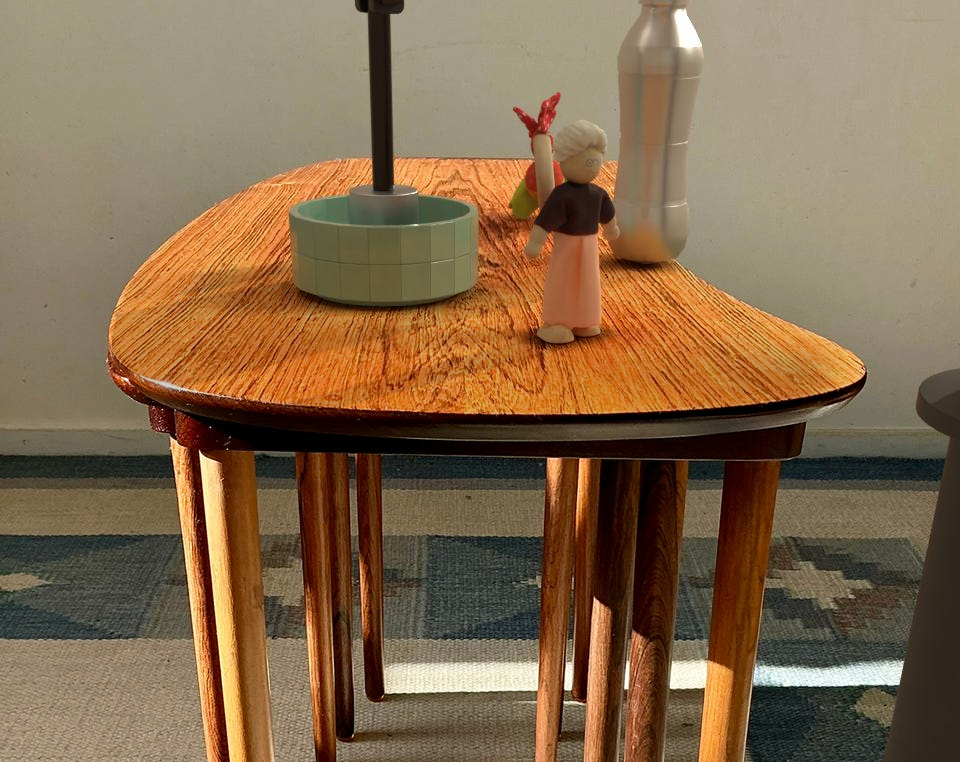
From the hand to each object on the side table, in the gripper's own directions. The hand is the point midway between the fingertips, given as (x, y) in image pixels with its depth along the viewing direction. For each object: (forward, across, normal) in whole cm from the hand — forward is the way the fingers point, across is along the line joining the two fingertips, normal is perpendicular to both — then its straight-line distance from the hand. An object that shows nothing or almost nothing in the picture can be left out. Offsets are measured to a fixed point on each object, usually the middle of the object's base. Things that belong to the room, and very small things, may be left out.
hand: (379, 12), depth 80 cm
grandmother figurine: (+18, -17, -5) cm, 25 cm away
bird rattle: (+18, +16, -24) cm, 34 cm away
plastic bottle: (+18, -2, -22) cm, 29 cm away
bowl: (+18, 0, 0) cm, 18 cm away
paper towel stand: (+14, 0, 0) cm, 14 cm away
